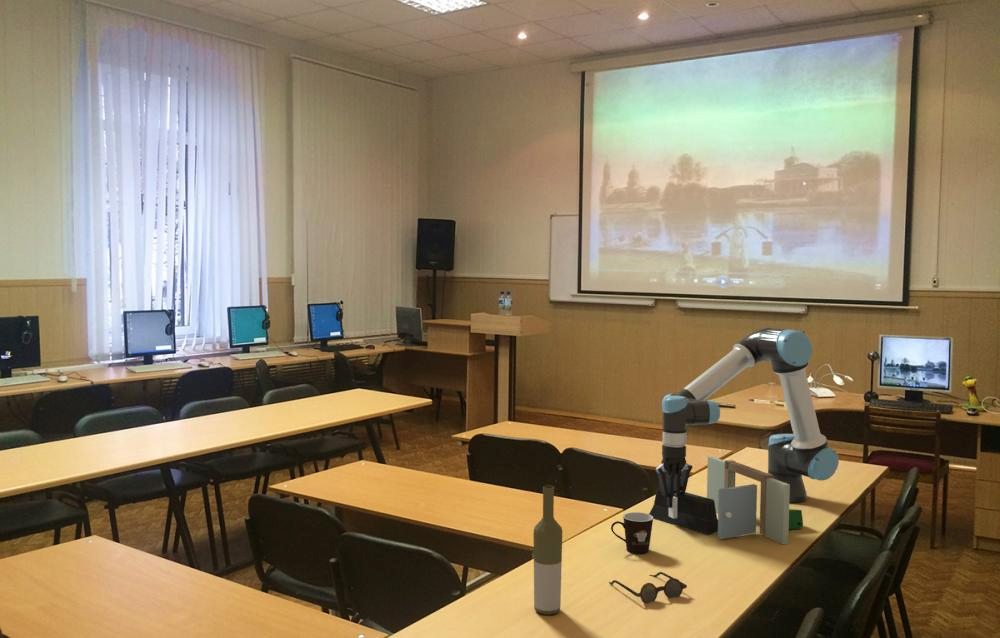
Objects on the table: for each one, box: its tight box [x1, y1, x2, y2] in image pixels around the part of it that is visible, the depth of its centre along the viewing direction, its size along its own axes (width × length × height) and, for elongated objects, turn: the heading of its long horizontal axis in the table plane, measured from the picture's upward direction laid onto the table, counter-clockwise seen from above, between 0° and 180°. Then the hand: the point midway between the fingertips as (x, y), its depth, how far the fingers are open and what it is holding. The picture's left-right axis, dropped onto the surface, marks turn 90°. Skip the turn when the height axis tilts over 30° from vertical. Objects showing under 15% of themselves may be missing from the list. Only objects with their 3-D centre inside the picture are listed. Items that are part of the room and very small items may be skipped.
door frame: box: [706, 456, 790, 545], centre depth 245 cm, size 3×38×19 cm, turn 20°
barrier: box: [648, 486, 718, 536], centre depth 246 cm, size 24×9×10 cm, turn 40°
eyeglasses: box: [608, 571, 688, 605], centre depth 194 cm, size 15×15×5 cm
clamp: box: [789, 508, 804, 530], centre depth 243 cm, size 12×6×9 cm, turn 96°
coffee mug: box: [610, 511, 654, 555], centre depth 221 cm, size 12×9×10 cm
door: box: [717, 484, 758, 540], centre depth 232 cm, size 14×3×15 cm, turn 115°
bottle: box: [533, 484, 563, 615], centre depth 180 cm, size 7×7×30 cm
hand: (672, 517), depth 244 cm, fingers closed
